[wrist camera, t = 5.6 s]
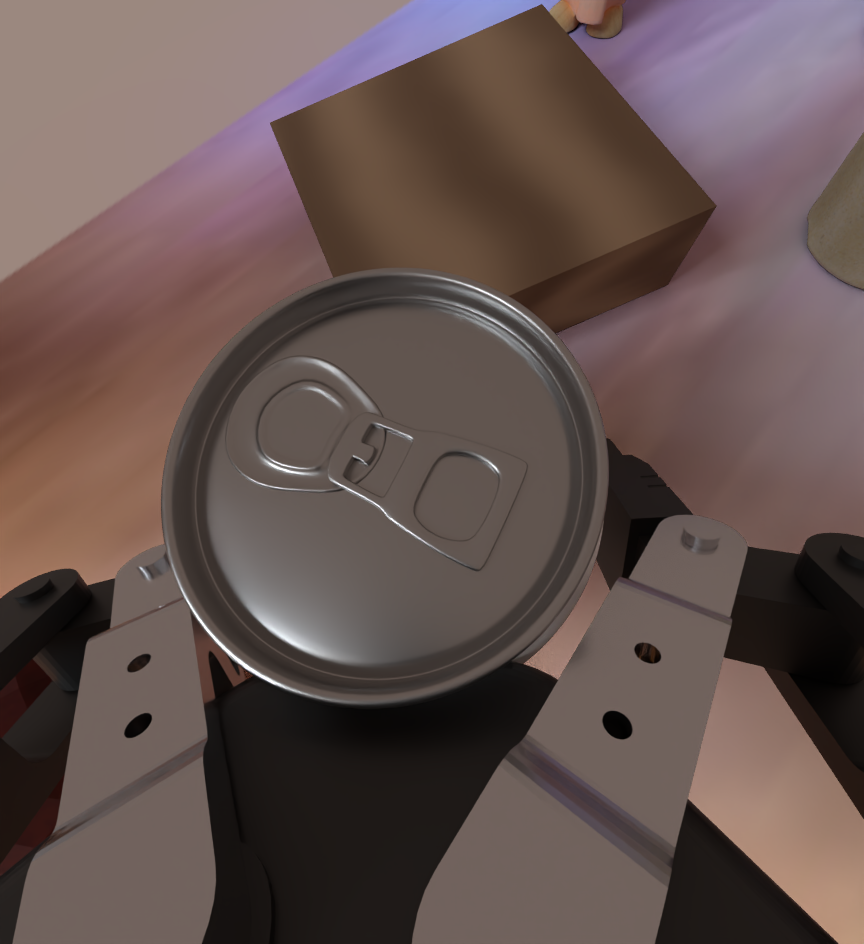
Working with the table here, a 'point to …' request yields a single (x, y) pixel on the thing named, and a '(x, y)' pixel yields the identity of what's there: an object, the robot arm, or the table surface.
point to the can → (386, 489)
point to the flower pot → (841, 221)
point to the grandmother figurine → (590, 16)
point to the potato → (3, 714)
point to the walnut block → (498, 174)
